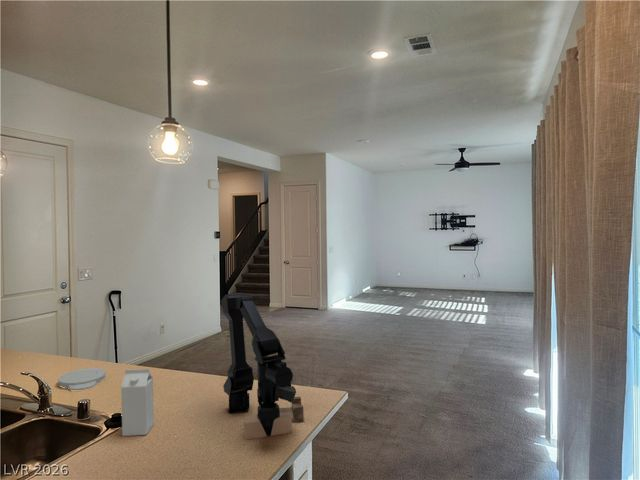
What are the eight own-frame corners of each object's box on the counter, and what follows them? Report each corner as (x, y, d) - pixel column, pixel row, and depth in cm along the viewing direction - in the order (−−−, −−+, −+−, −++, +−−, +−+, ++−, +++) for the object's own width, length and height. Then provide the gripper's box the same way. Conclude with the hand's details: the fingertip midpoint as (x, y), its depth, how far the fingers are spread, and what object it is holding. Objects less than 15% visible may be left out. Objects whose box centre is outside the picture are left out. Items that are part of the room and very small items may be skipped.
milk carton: (131, 425, 131) (129, 366, 131) (154, 424, 132) (152, 365, 131) (122, 436, 124) (120, 374, 124) (146, 435, 125) (145, 373, 124)
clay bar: (245, 440, 122) (245, 423, 122) (244, 434, 125) (243, 418, 125) (291, 433, 126) (291, 416, 126) (289, 427, 129) (289, 412, 129)
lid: (56, 396, 156) (55, 388, 156) (59, 379, 174) (59, 372, 174) (107, 387, 165) (107, 379, 165) (105, 372, 182) (105, 365, 182)
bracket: (259, 425, 130) (259, 410, 130) (259, 412, 139) (258, 399, 139) (303, 421, 133) (303, 407, 132) (300, 409, 142) (300, 396, 141)
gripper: (297, 386, 117) (298, 441, 117) (291, 366, 135) (292, 413, 135) (257, 390, 115) (258, 445, 115) (256, 368, 134) (257, 416, 134)
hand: (268, 429), depth 125 cm, fingers open, 8 cm apart
